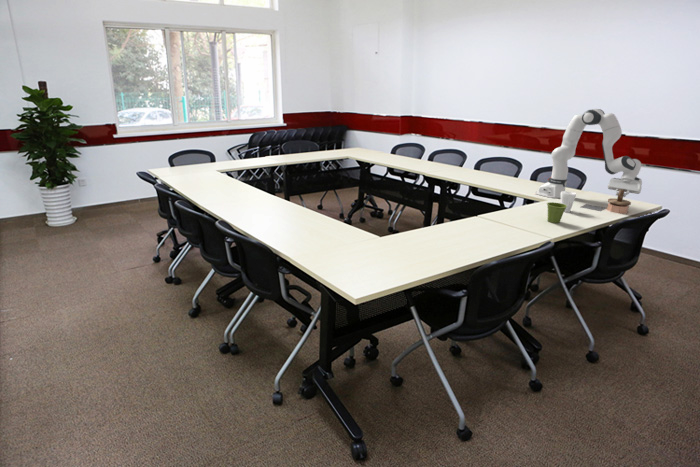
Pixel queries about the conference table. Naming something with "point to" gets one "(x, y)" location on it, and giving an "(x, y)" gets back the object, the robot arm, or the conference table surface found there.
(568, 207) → the foam cup
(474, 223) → the conference table surface
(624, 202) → the lid
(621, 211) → the bowl
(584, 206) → the mat
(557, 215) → the plant pot
